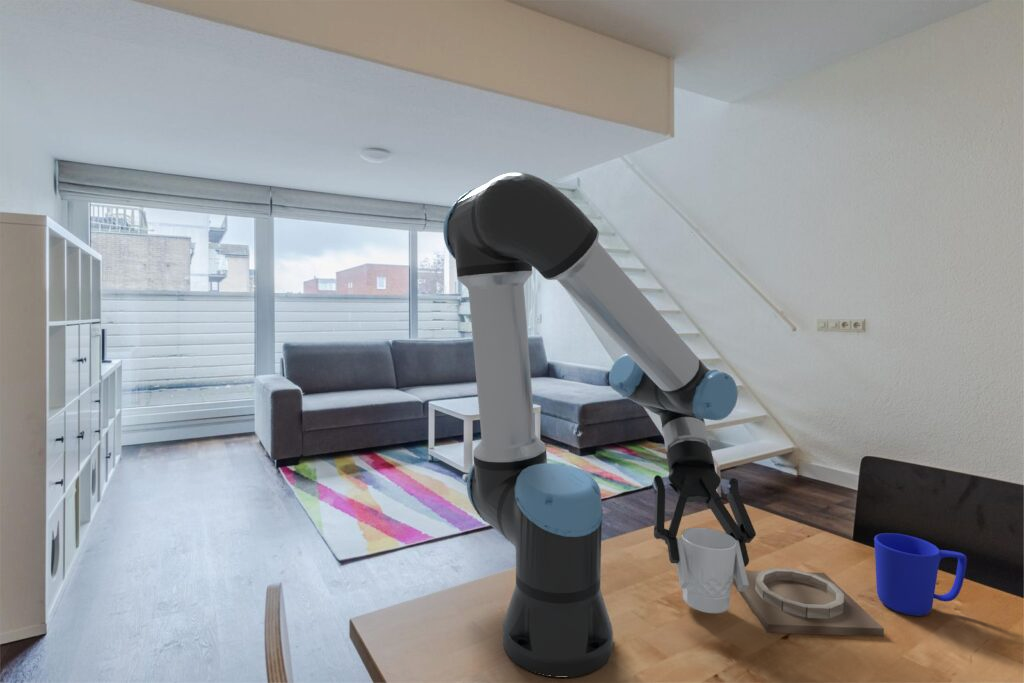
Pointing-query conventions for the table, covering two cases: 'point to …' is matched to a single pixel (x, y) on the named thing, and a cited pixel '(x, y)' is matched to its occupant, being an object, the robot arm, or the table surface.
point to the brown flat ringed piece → (805, 604)
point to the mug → (912, 573)
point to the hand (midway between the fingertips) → (714, 586)
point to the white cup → (709, 569)
